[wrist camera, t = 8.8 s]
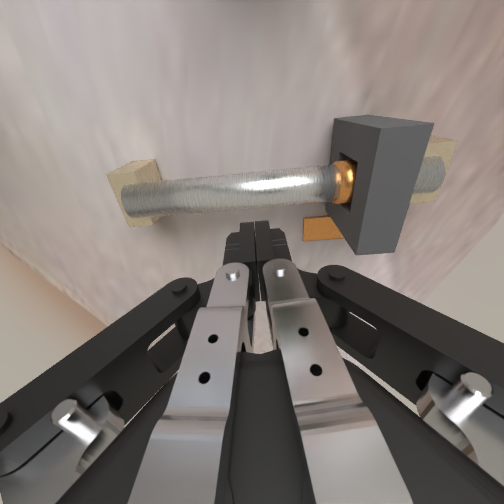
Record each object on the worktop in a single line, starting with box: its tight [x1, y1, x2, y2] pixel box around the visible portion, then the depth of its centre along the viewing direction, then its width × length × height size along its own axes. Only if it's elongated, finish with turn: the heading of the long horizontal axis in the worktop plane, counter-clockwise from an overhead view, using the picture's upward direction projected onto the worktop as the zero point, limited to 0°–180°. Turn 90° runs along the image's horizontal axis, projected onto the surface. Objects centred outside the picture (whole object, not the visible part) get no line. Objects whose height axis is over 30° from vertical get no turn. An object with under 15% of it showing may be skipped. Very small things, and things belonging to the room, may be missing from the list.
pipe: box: [106, 135, 458, 241], centre depth 23 cm, size 28×11×7 cm, turn 95°
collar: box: [326, 115, 434, 255], centre depth 19 cm, size 3×9×9 cm, turn 5°
